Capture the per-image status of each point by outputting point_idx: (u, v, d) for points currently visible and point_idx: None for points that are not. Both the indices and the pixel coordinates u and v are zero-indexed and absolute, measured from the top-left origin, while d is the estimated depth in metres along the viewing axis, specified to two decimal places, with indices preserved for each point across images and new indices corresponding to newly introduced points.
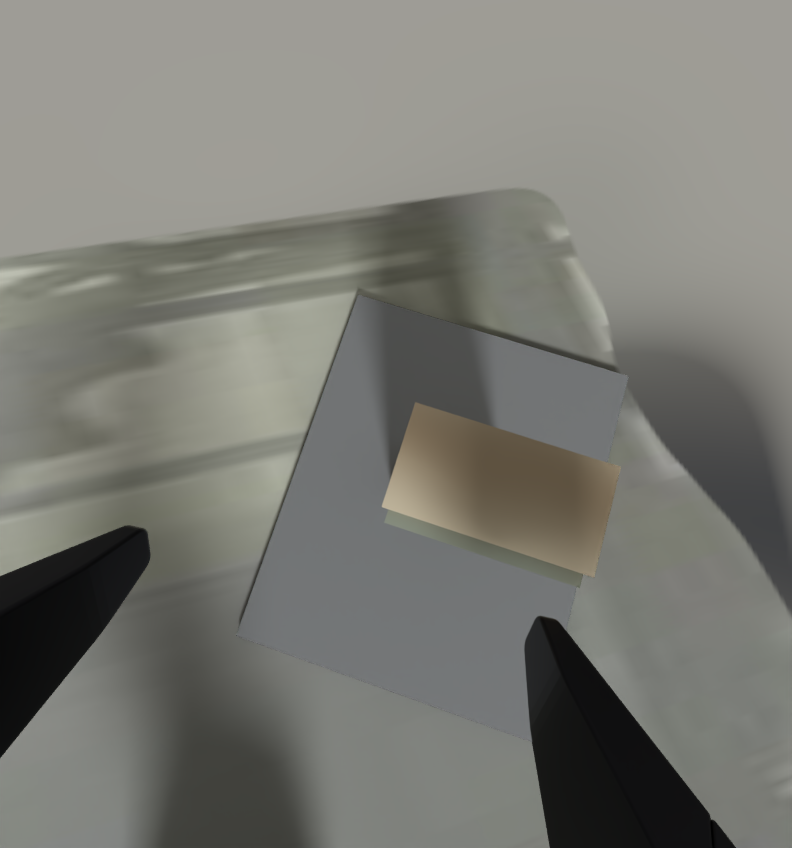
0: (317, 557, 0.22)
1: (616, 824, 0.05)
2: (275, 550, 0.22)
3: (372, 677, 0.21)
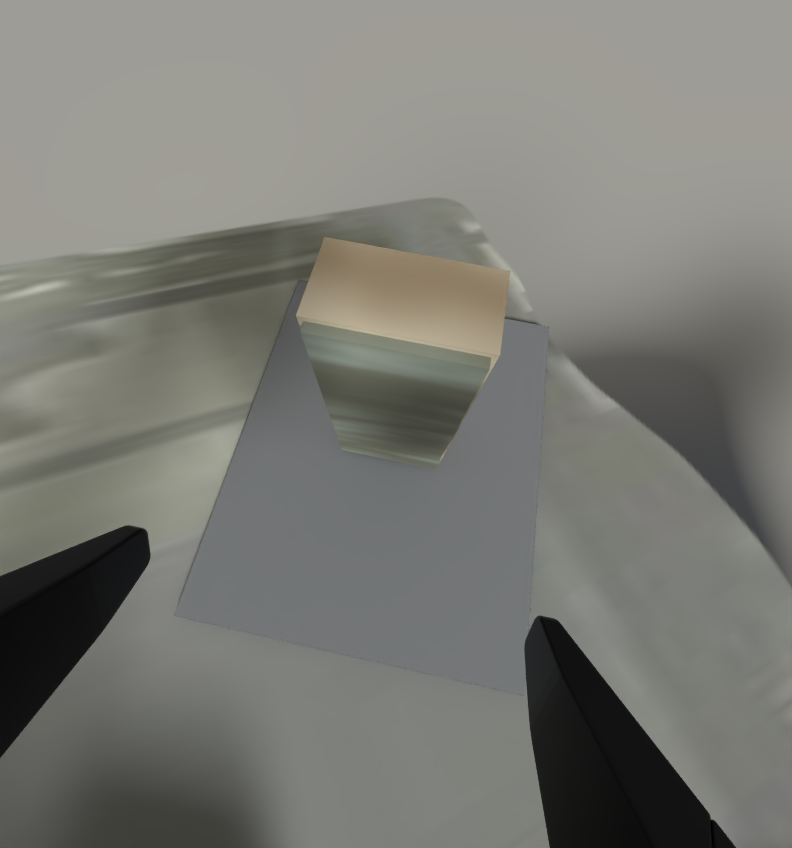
0: (265, 518, 0.21)
1: (616, 823, 0.05)
2: (220, 516, 0.21)
3: (332, 643, 0.19)
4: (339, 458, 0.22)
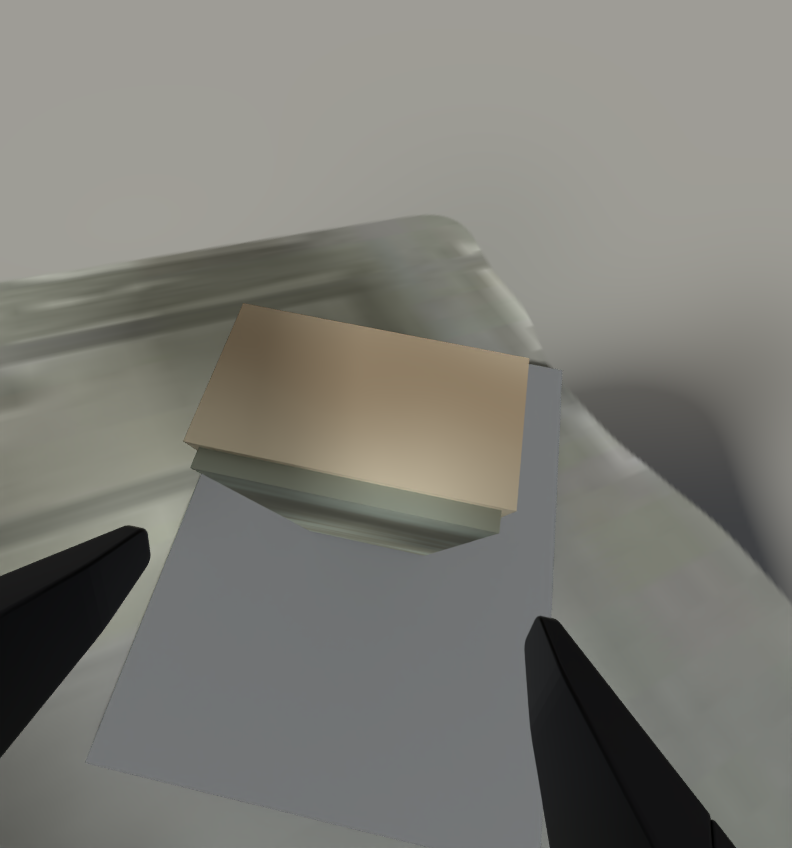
0: (211, 623, 0.17)
1: (616, 824, 0.05)
2: (153, 620, 0.17)
3: (289, 800, 0.15)
4: (306, 541, 0.18)
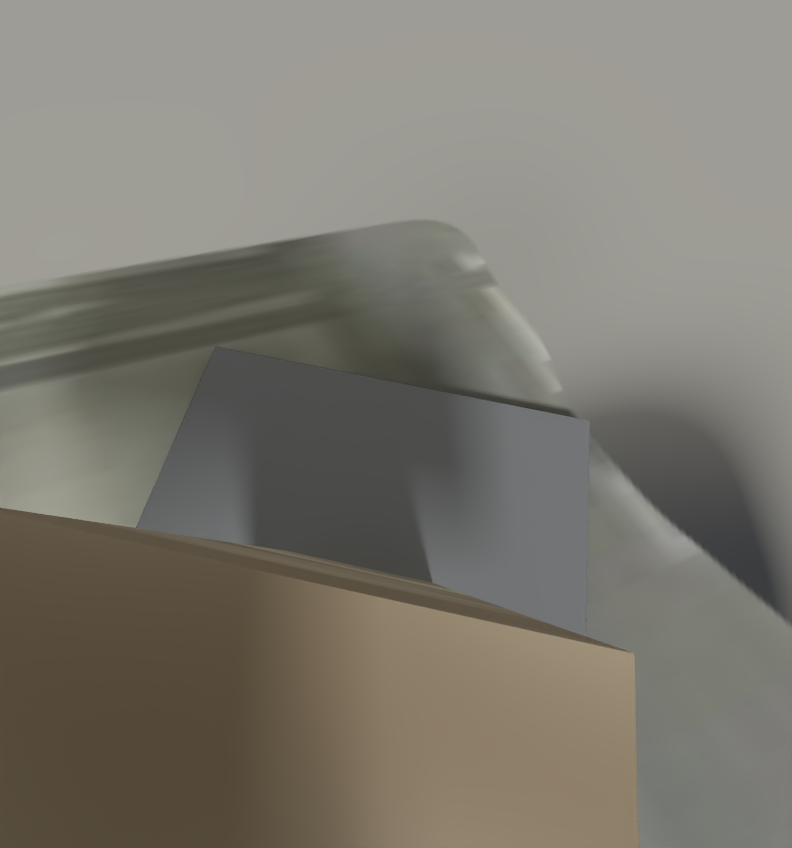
0: None
1: None
2: None
3: None
4: None
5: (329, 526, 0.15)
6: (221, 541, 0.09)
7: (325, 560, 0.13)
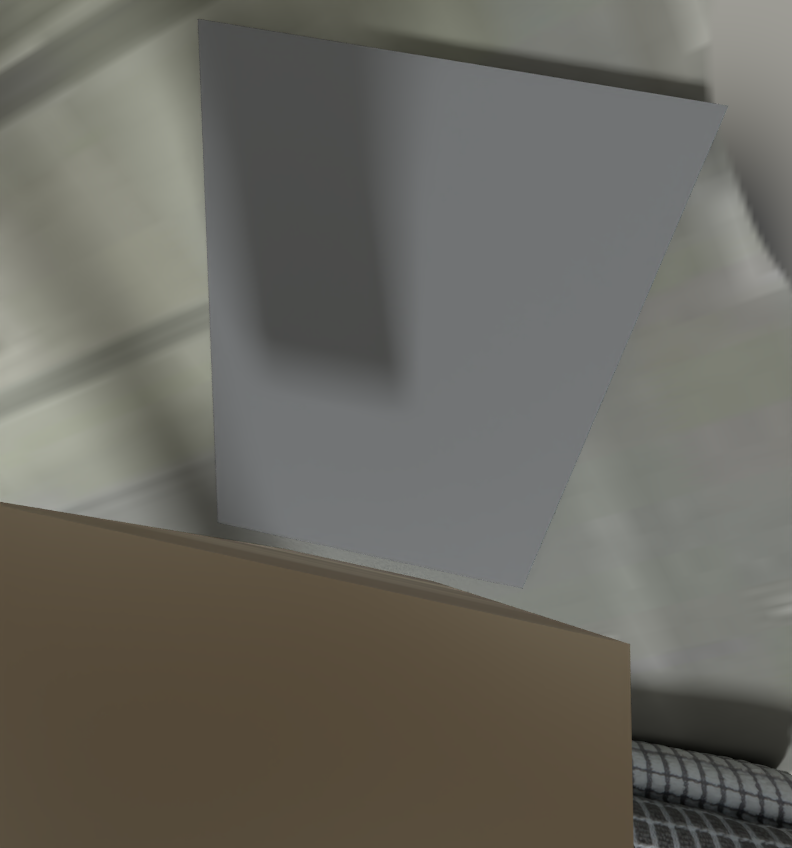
0: (269, 450, 0.20)
1: None
2: (224, 447, 0.20)
3: (355, 547, 0.21)
4: (336, 386, 0.18)
5: (381, 274, 0.15)
6: (223, 539, 0.09)
7: None
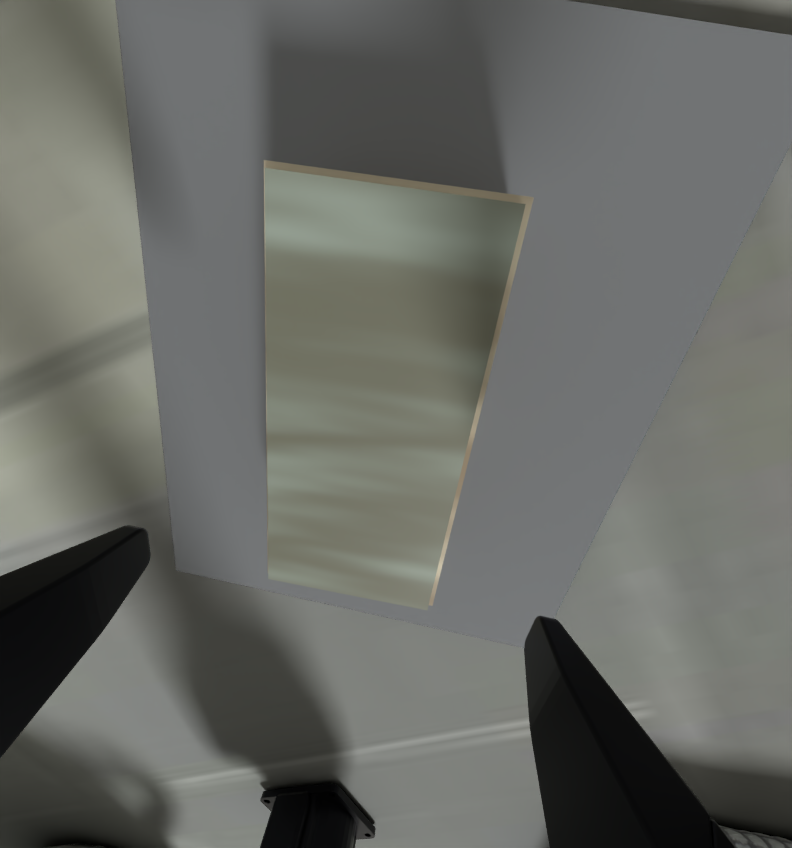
0: (232, 490, 0.16)
1: (616, 824, 0.05)
2: (177, 486, 0.16)
3: (338, 601, 0.18)
4: None
5: None
6: None
7: None
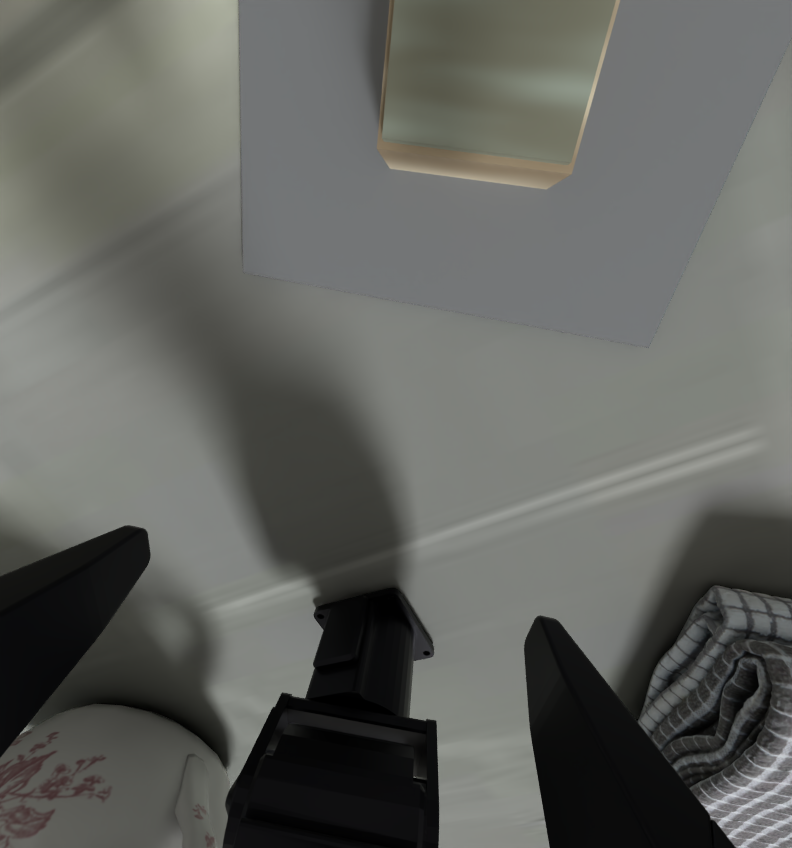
0: (317, 131, 0.14)
1: (616, 824, 0.05)
2: (253, 132, 0.14)
3: (425, 297, 0.16)
4: None
5: None
6: None
7: None
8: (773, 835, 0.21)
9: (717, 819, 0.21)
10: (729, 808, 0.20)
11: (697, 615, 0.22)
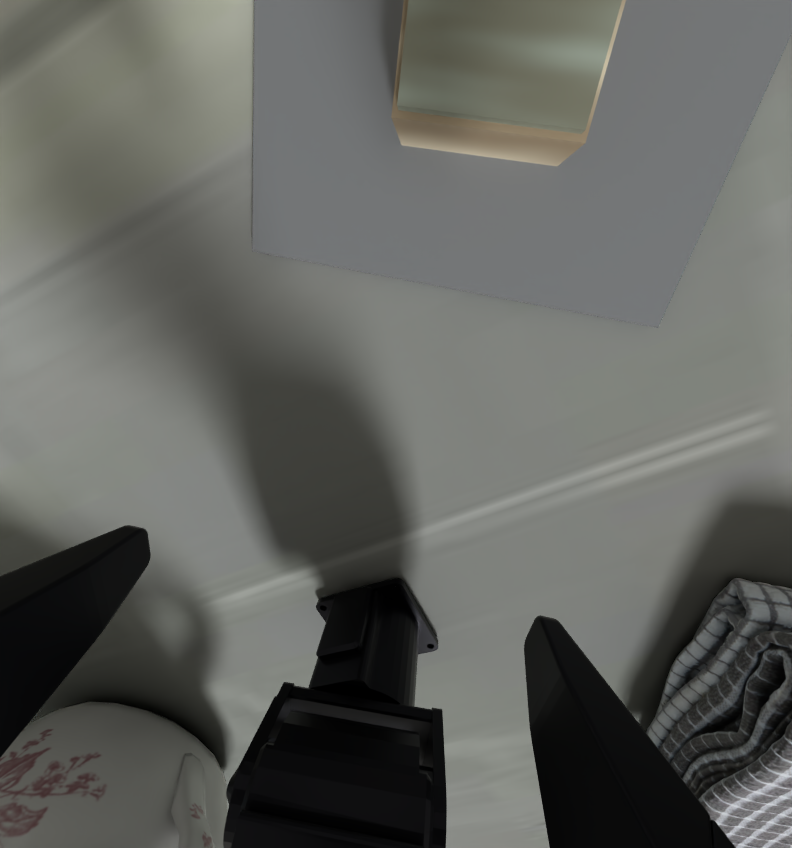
0: (329, 107, 0.14)
1: (616, 824, 0.05)
2: (266, 108, 0.15)
3: (434, 276, 0.16)
4: None
5: None
6: None
7: None
8: None
9: (740, 819, 0.20)
10: (753, 806, 0.19)
11: (717, 609, 0.22)
